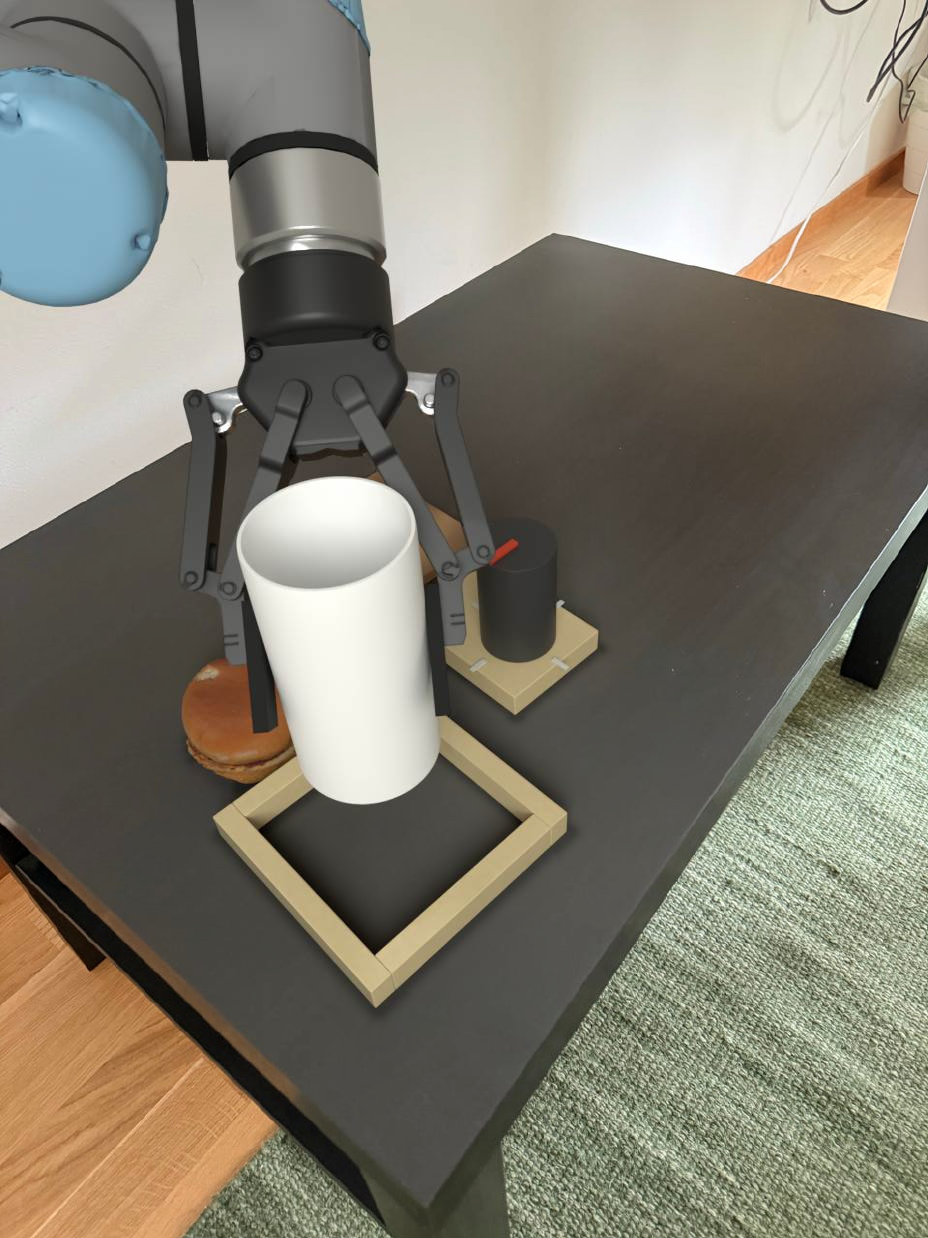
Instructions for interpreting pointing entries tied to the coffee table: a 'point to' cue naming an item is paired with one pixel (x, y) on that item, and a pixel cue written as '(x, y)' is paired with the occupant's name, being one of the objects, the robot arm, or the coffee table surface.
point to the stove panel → (518, 680)
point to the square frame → (439, 919)
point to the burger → (231, 726)
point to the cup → (345, 633)
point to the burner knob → (519, 591)
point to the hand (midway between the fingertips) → (354, 721)
